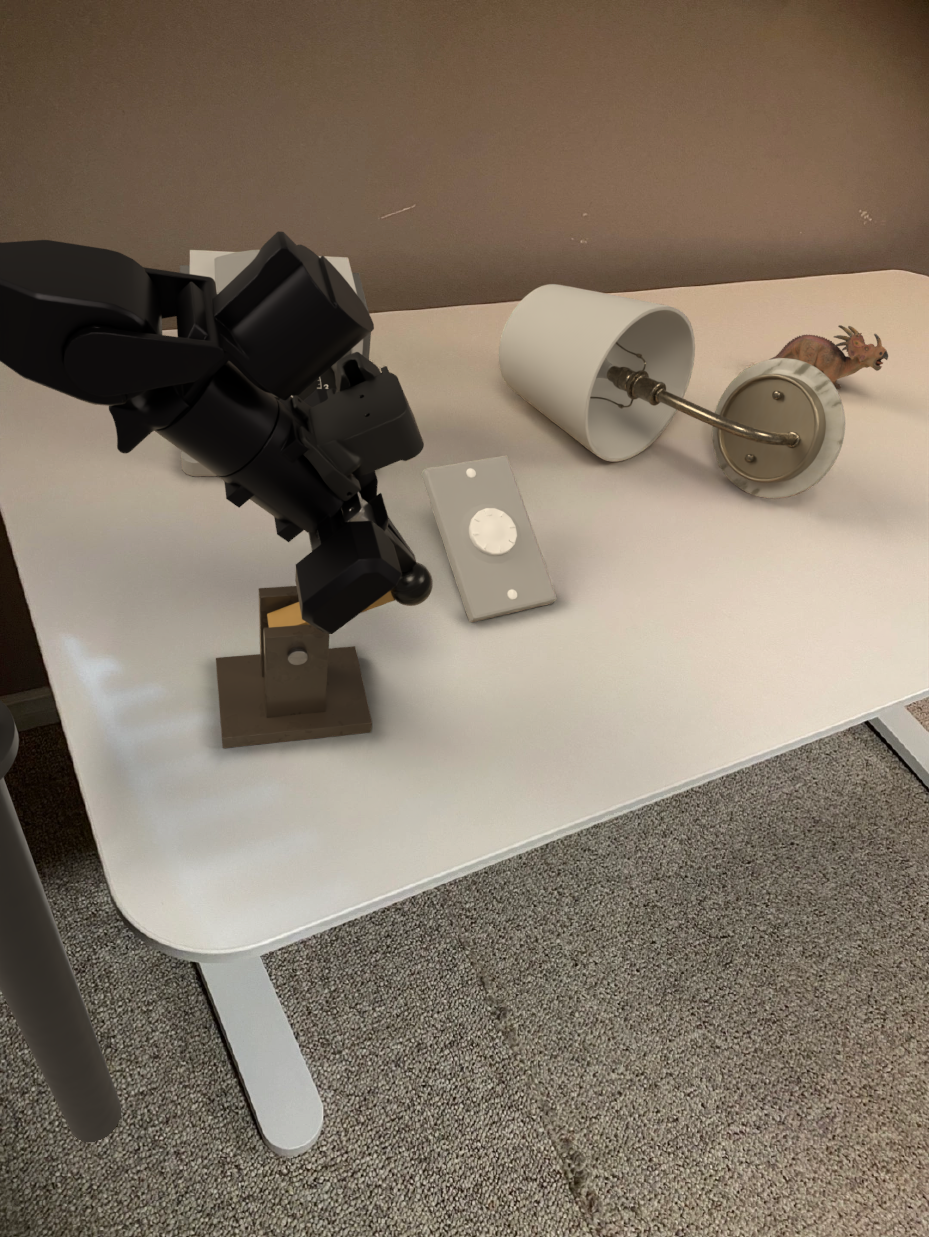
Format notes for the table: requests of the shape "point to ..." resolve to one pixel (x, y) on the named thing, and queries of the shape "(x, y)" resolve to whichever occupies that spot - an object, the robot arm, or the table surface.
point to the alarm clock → (223, 272)
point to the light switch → (488, 537)
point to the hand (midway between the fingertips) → (411, 564)
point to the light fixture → (665, 388)
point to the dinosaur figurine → (836, 353)
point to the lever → (407, 592)
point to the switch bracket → (290, 684)
